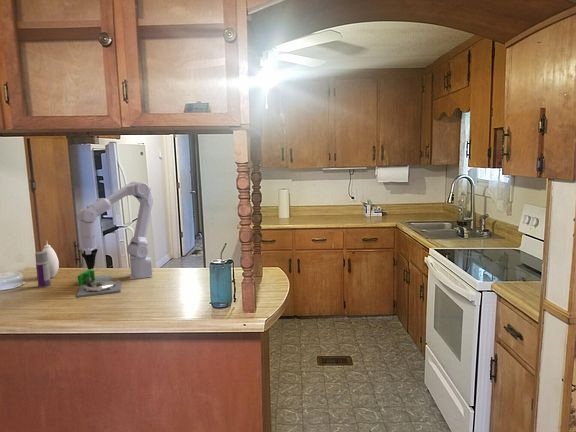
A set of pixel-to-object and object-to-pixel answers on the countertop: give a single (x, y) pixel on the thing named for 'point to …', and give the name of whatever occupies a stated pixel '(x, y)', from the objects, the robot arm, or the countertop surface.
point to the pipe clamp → (85, 275)
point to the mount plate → (114, 290)
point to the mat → (102, 278)
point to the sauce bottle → (51, 260)
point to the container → (42, 269)
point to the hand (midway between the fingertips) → (91, 267)
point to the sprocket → (98, 285)
